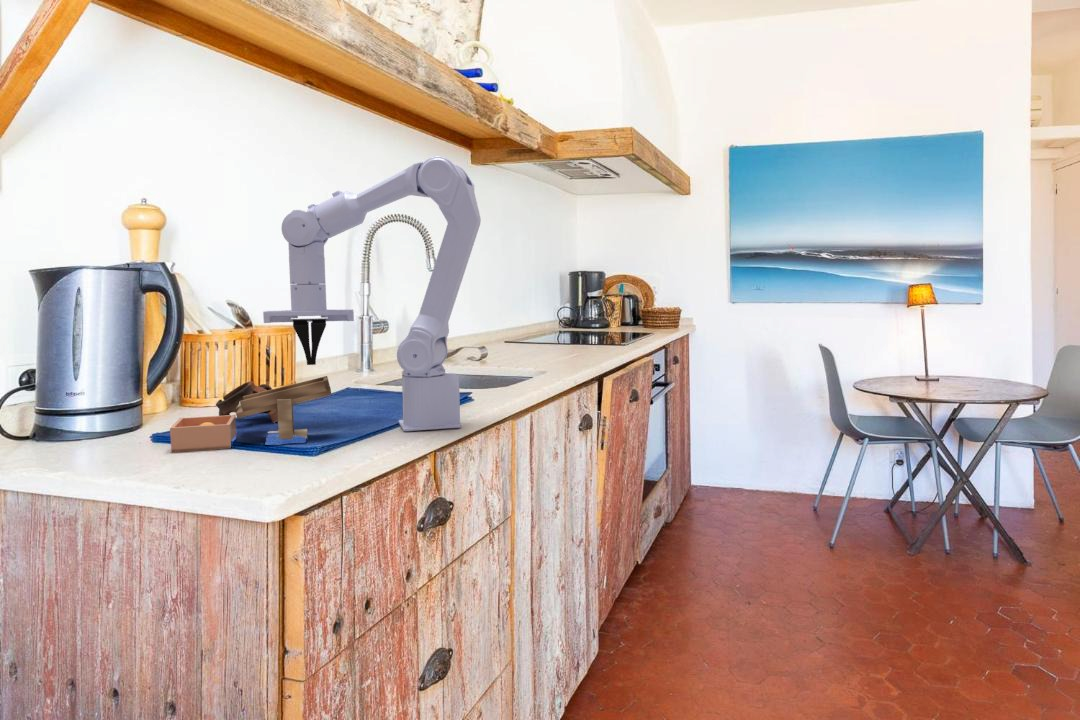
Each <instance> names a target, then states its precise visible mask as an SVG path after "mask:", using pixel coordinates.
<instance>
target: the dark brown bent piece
mask: <svg viewBox="0 0 1080 720" xmlns="http://www.w3.org/2000/svg"><path fill="white" fill-rule="evenodd" d="M271 389H273V388H272V387H271V386H270V385H269V384H267V383H266V384H264V383H262V384H259V385H256V384H255V383H254V381H252V380H250V381H247V382H244V383H242V384H240V385H239V386H237V387H235V388H233V389H232V390H231V391H229V392H228V393H227V394H225V395H224V396H223V397H222V399H223V400H222V399H219V400H218V401H216V403H215V406H216V407H217V408H218V416H225V415H231V414H232V413H235V414H236V412H237V411H236V408H237V406H238V405H239V403H240V401H242V400H243V396H247V395H251V394H255V393H259V392H263V391H267V390H271ZM259 414H260V415H261V414H267V416H268V417H269V419H270V421H271V423H274V422H277V423H278V409H273V410H269V411H265V412H261V413H259Z"/></svg>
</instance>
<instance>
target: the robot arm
mask: <svg viewBox="0 0 1080 720" xmlns="http://www.w3.org/2000/svg"><path fill="white" fill-rule="evenodd" d="M331 195H332V197H331V198H328V199H326V200H324V201H322V202H320V203H318V204H314V203H311V204H310V205H307V211H305V210H301V209H294V210H292V211H291V212H290V213H288V214H287V215H286V216H285V217H284V218H283V220H282V223H281V233H282V236H283V238H284V240H285V241H287V244H288V262H289V263H288V264H289V266H288V267H289V269H288V270H289V285H290V286H289V288H290V289H289V290H290V306H291V307H290V308H291V309H290V310H286V309H285V310H263V312H262V316H263V324H271V323H292V327H293V329H294V331H295V333H296V335H297V337H298V339H299V341H300V343H301V346H302V350H303V352H304V354H305V360H306V366H314V365H315V366H316V365H317V363H316V362H317V361H316V360H317V353H318V349H319V346H320V342H321V339H322V337H323V334H324V332H325V328H326V327H327V322H355V319H354V318H355V317H354V316H355V314H354V313H355V312H354V310H353V308H352V309H327V288H326V287H327V285H326V265H325V264H326V262H325V261H326V260H325V259H326V258H325V244H327V242H328V241H329V239H331V238H333V237H335V236H338V235H339V234H340V235H341V234H342V233H344V232H347V231H348V230H351V229H353V228H355V227H357V226H359V225H361V224H363V223H364V221H365V219H366V216H367V214H368V213H370V212H372V211H374V210H376V209H377V210H378V209H379V208H382V207H384V206H387V205H389V204H391V203H393V202H396V201H399V200H401V199H404V198H406V197H409V196H414V197H415V196H417V197H422V198H430V199H431V200H432V201H433V202H434V203H435V204H437V206H438V208H439V210H440V212H441V213H442V215H443V216H444V219H445V221H446V222H447V225H446V228H445V231H444V235H443V238H442V240H441V244H440V247H439V250H438V254H437V256H436V260H435V263H434V266H433V269H432V271H431V272H432V273H431V276H430V278H429V282H428V283H427V288H426V292H425V294H424V296H423V297H424V298H423V299H422V300H423V301H422V304H421V307H420V310H419V314H418V315H417V317H416V319H415V320H414V321H413V323H412V325H411V326H410V329H409V332H408V335H406V337H405V339H403V340H402V341H401V342H400V343H399V345H398V348H397V351H396V358H397V359H396V360H397V362H398V364H399V367H400V368H401V369H402V371H401V387H402V388H401V391H402V419H398V424H399V426H400V427H401V429H402V430H403V432H414V431H415V432H416V431H428V430H430V431H431V430H444V429H459V428H461V427H462V424H461V405H460V404H461V403H460V402H461V401H460V399H461V398H460V395H461V394H460V383H459V377H458V375H457V373H452V372H451V373H450V372H449V373H446V369H445V367H444V366H443V364H444V362H445V361H446V359H447V358H448V357H447V356H448V351H449V350H448V344H447V341H448V340H447V339H448V336H449V333H450V328H449V326H450V325H449V321H450V318H451V315H452V312H453V309H454V306H455V303H456V300H457V298H458V294H459V291H460V287H461V284H462V281H463V279H464V275H465V272H466V269H467V266H468V263H469V259H470V257H471V254H472V251H473V248H474V245H475V242H476V238H477V235H478V232H479V229H480V226H481V219H482V218H481V214H480V210H479V206H478V202H477V198H476V194H475V184H474V183H473V181H472V180H471V178H470V177H469V175H468V173H467V172H466V171H465V170H464V168H462V167H461V166H459V165H455V163H453V162H452V161H451V160H450V159H448V158H446V157H444V156H437V155H436V156H432V157H428V159H426V160H425V161H419V162H416V163H413V164H411V165H410V166H408V167H407V168H404V169H403V170H401V171H399V172H397V173H395V174H393V175H391V176H390V177H388V178H386V179H384V180H382V181H380V182H378V183H376V184H374V185H372V186H371V187H369V188H367V189H365V190H363V191H361V192H359V193H357V194H356V193H355V194H354V193H353V192H351V191H344V192H342V191H340V190H337V191H334V192H332V193H331ZM299 317H319V318H299ZM309 324H310V325H309ZM310 335H311V338H310ZM310 339H311V346H310Z"/></svg>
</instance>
